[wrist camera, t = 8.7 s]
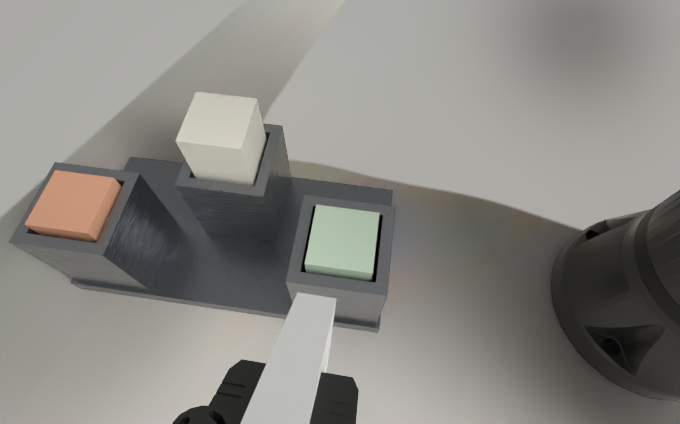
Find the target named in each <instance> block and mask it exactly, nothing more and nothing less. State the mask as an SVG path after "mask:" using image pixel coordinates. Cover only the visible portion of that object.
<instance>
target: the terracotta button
mask: <svg viewBox="0 0 680 424" xmlns="http://www.w3.org/2000/svg"><path fill="white" fill-rule="evenodd" d="M121 189H122V186H121V185H120V184H119V183H118V182H117V181H116V180H115V178H112V177H104V176H97V175H89V174H82V173H74V172H66V171H59V170H55V171H54V173H53V175H52V177H51V178H50V180H49V182H48V184H47V185H46V187H45V189H44V191H43V192H42V194H41V196H40V198H39V200H38V201H37V203H36V205H35V207H34V208H33V210H32V212H31V214H30V215H29V217H28V219H27V221H26V222H25V224H24V225H26V226H28V227H29V228H31V229H32V230H34V231H35V232H37V233H38V234H40V235H43V236H50V237H57V238H64V239H71V240H78V241H85V242H92V243H96V242H97V240H98V238H99V236H100V234H101V232H102V230H103V227H104V225H105V223H106V221H107V219H108V217H109V214H110V212H111V210H112V208H113V206H114V204H115V201H116V199H117V197H118V195H119V193H120V191H121Z"/></svg>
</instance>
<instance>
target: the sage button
mask: <svg viewBox="0 0 680 424" xmlns="http://www.w3.org/2000/svg"><path fill="white" fill-rule="evenodd" d="M378 222H379V213H377V212H370V211H362V210H354V209H347V208H339V207H332V206H324V205H316V208H315V213H314V218H313V224H312V229H311V234H310V239H309V244H308V249H307V254H306V259H305V269H306V273H311V274H318V275H325V276H332V277H339V278H346V279H353V280H361V281H368V282H371V279H372V275H373V267H374V258H375V249H376V240H377V231H378Z"/></svg>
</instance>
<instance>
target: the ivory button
mask: <svg viewBox="0 0 680 424" xmlns="http://www.w3.org/2000/svg"><path fill="white" fill-rule="evenodd" d="M175 141H176V143H177V145H178V147H179V149H180V150H181V152H182V154H183V156H184V158H185V159H186V161H187V163H188V165H189V167H190V168H191V170H192V172H193V174H194V176H195V177H196V178H197V179H205V180H212V181H220V182H228V183H235V184H243V185H251V186H255V184H256V181H257V177H258V174H259V170H260V167H261V163H262V160H263V156H264V152H265V149H266V145H267V139H266V135H265V131H264V126H263V122H262V118H261V114H260V109H259V105H258V101H257V99H256V98H247V97H239V96H230V95H222V94H213V93H205V92H195V95H194V97H193V100H192V102H191V104H190V107H189V109H188V112H187V114H186V116H185V119H184V121H183V123H182V126H181V128H180V131H179V133H178V135H177V138H176V140H175Z"/></svg>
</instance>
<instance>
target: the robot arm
mask: <svg viewBox="0 0 680 424" xmlns="http://www.w3.org/2000/svg"><path fill="white" fill-rule="evenodd" d="M551 288H552V298H553V303H554V307H555V310H556V313H557V316H558V319H559V321H560V323H561V325H562V327H563V329H564V331H565V333H566V334H567V336H568V338H569V339H570V341H571V342H572V344H573V345H574V346H575V348H576V349H577V350H578V351H579V353H580V354H581V355H582V356H583V357H584V358H585V359H586V360H587V361H588V362H589V363H590V364H591V365H592V366H593V367H594V368H595V369H597V370H598V371H599V372H600V373H601V374H603V375H604V376H606V377H607V378H608V379H610V380H611V381H613V382H615V383H616V384H618V385H620V386H622V387H624V388H626V389H628V390H630V391H632V392H635V393H637V394H640V395H643V396H646V397H650V398H655V399H660V400H673V401H675V400H680V190H679V191H677V192H676V193H675V194H673V195H671V196H670V197H669V198H667V199H666V200H664V201H663V202H662V203H660V204H659V205H657V206H656V207H655V208H653V209H650V210H646V211H642V212H637V213H633V214H629V215H624V216H620V217H616V218H611V219H607V220H604V221H601V222H598V223H596V224H594V225H592V226H590V227H589V228H587V229H585V230H584V231H582V232H581V233H580V234H578V235H577V236H576V237H575V238H573V239H572V240H571V241H570V242H569V243H568V244H567V245H566V246H565V247H564V248H563V249H562V251H561V252H560V254H559V255H558V257H557V259H556V262H555V265H554V268H553V273H552V281H551ZM335 306H336V298H330V297H324V296H318V295H312V294H305V293H299V292H297V295H296V297H295V299H294V301H293V304H292V306H291V308H290V311H289V313H288V315H287V318H286V320H285V322H284V324H283V327H282V329H281V331H280V334H279V336H278V338H277V340H276V343H275V345H274V347H273V350H272V352H271V354H270V357H269V359H268V361H267V363H266V364H265V363H259V362H253V361H248V360H240V361H239V362H238V363H236V364H235V365H234V366H233V367H231V368H230V369H229V370H228V372H227V374H226V376H225V378H224V379H223V381H222V384H221V385H220V387H219V388H218V390H217V392H216V395H214V397H213V399H212V401H211V403H210V404H209V406H199V407H195V408H191V409H189V410H187V411H186V412H184V413H182V414H180V415H179V416H178V417H177V419H176V420H175V421H174V422H173V424H356V413H357V402H358V388H357V386H356V384H355V381H354V379H353V378H352V377H347V376H341V375H335V374H329V373H326V369H327V364H328V359H329V351H330V344H331V336H332V329H333V321H334V313H335Z"/></svg>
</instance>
